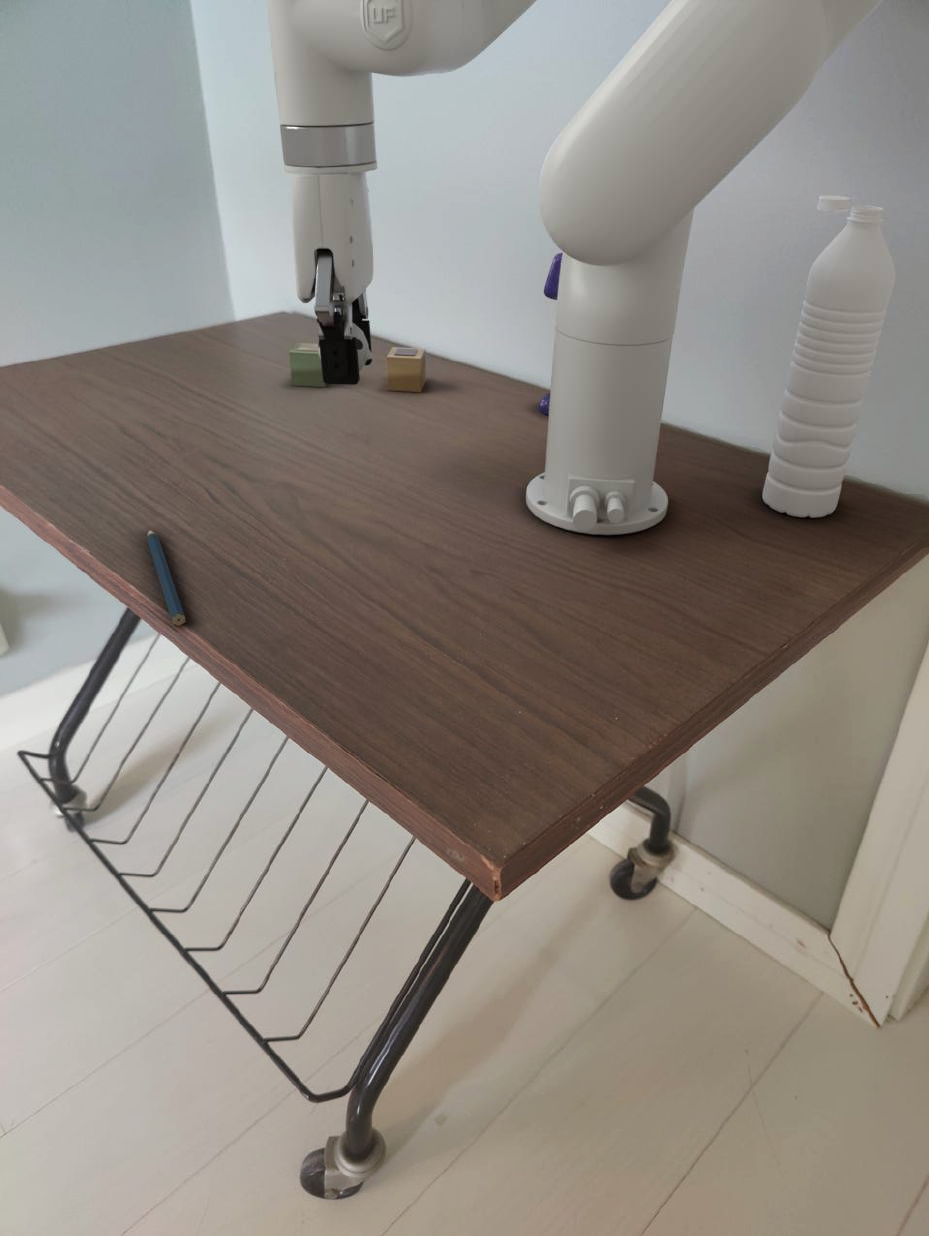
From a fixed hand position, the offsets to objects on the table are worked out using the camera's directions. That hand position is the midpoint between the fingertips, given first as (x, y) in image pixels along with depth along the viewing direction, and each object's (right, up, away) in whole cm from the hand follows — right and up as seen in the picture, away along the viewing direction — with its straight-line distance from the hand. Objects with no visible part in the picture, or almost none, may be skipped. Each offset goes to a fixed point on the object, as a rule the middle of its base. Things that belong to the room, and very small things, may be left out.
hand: (348, 371), depth 83 cm
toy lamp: (+21, +1, +20) cm, 29 cm away
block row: (-2, +6, +27) cm, 27 cm away
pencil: (-10, -23, -19) cm, 31 cm away
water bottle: (+41, -12, +1) cm, 42 cm away
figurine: (0, -1, 0) cm, 1 cm away
